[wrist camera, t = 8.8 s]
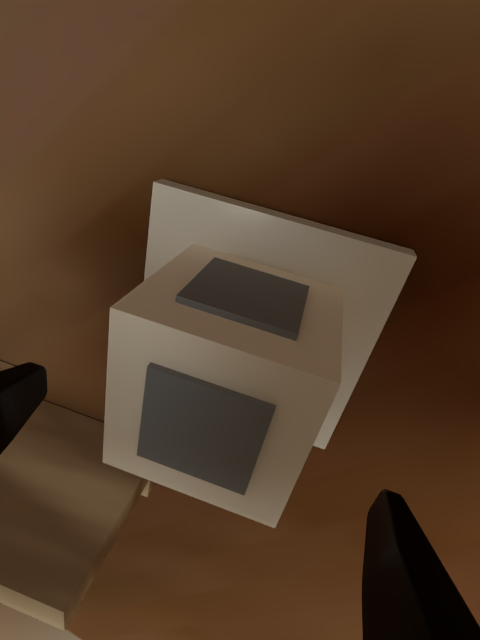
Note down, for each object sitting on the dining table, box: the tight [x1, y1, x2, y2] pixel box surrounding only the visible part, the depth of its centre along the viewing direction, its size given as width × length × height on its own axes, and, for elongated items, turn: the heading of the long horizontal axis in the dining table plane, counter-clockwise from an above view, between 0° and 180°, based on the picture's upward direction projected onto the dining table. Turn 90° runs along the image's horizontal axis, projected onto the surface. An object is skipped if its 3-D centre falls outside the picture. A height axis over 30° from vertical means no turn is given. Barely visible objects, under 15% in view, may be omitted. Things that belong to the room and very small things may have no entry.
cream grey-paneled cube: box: [102, 243, 343, 528], centre depth 12 cm, size 6×6×6 cm
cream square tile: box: [144, 179, 417, 450], centre depth 15 cm, size 9×9×1 cm
